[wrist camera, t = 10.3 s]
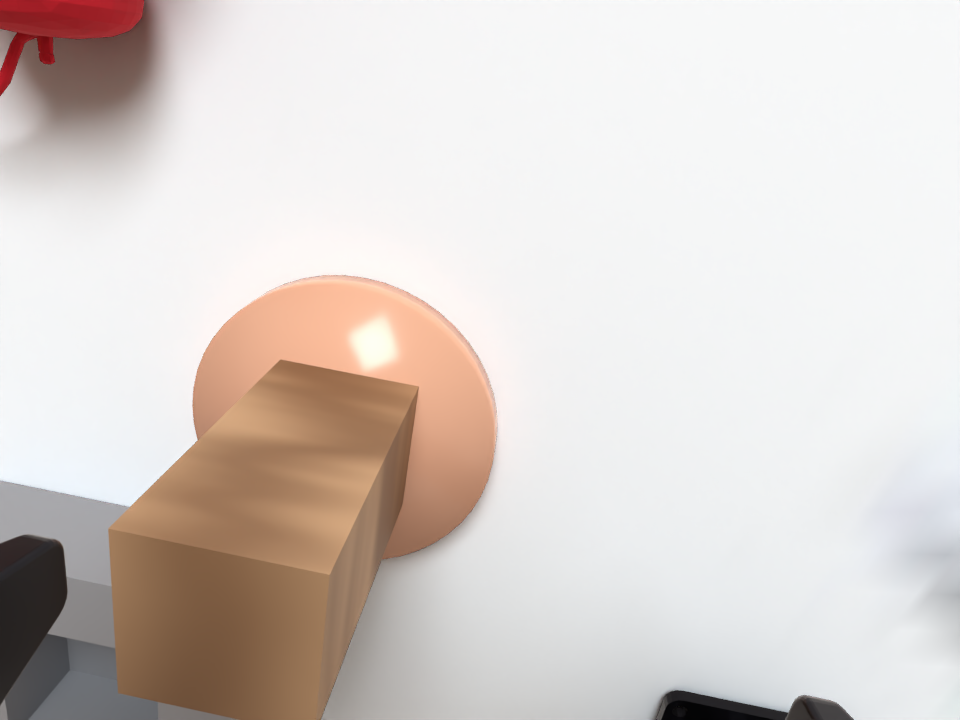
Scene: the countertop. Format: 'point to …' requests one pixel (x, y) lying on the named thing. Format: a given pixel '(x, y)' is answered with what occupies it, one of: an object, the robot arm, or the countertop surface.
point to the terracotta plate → (379, 354)
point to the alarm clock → (61, 25)
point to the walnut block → (262, 546)
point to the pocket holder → (75, 617)
